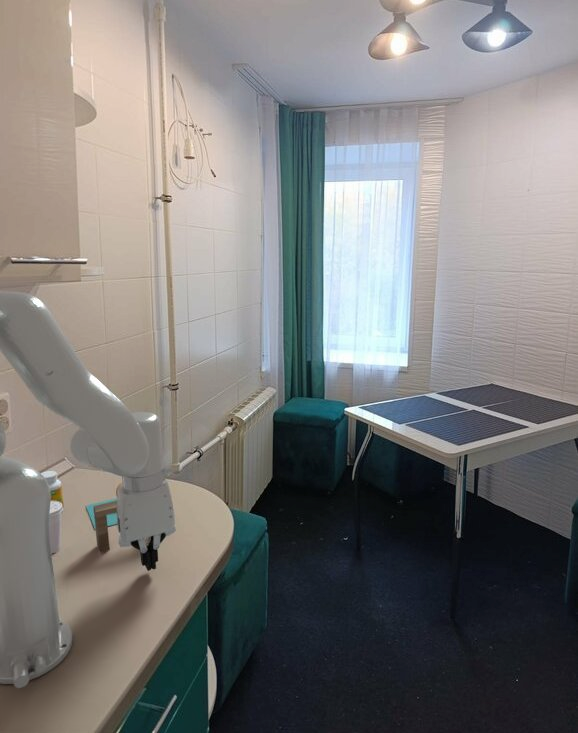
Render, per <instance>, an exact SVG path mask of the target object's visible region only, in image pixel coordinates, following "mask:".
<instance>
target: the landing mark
mask: <svg viewBox="0 0 578 733" xmlns="http://www.w3.org/2000/svg"><path fill="white" fill-rule="evenodd" d="M113 501H117V497H116V498H112V499H108V500H104V501H99V502H95V503H92V504H87V505H85V508H86V511H87V513H88V515H89V518H90V521H91V523H92V525H93V528H94V530H95V531H96V528H95V518H94V508H93V506H96V505H100V504H105V503H109V502H113ZM107 526H108V528H109V527H112V526H117V513H113V514H109V515H107Z"/></svg>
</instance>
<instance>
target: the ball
mask: <svg viewBox="0 0 578 733" xmlns="http://www.w3.org/2000/svg"><path fill="white" fill-rule="evenodd" d="M121 485H123V483H122V481H121V482H120V483H119V484H118V485H117V487H116V489H115V495H116V497H117V495H118V488H119V487H120V486H121Z"/></svg>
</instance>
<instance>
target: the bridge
mask: <svg viewBox="0 0 578 733" xmlns="http://www.w3.org/2000/svg"><path fill="white" fill-rule="evenodd" d="M93 508H94V518H95V528H96V530H95V536H96V546H97V549H98V551H99V553H103V552H106V551H109V550H110V548H111V547H110V539H109V530H108V528H109V527H108V526H107V515H109V514H113V513H117V501H113V502H109V503H105V504H100V505H96V506H93ZM95 528H94V529H95Z"/></svg>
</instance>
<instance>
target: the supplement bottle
mask: <svg viewBox="0 0 578 733" xmlns="http://www.w3.org/2000/svg"><path fill="white" fill-rule="evenodd" d="M40 473H41V474H42V475H43V476H44V478H45V479H46V481H47V483H48V485H49V488H50V494H51V501H58V502H61V503H62V507H63V510H62V512H63V511H64V510H65V504H64V498H63V497H64V496H63V488H62V487H63V486H62V482H61V480H59V479H58V473H57V472H56V471H55V470H47V471H43V472H40Z"/></svg>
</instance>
